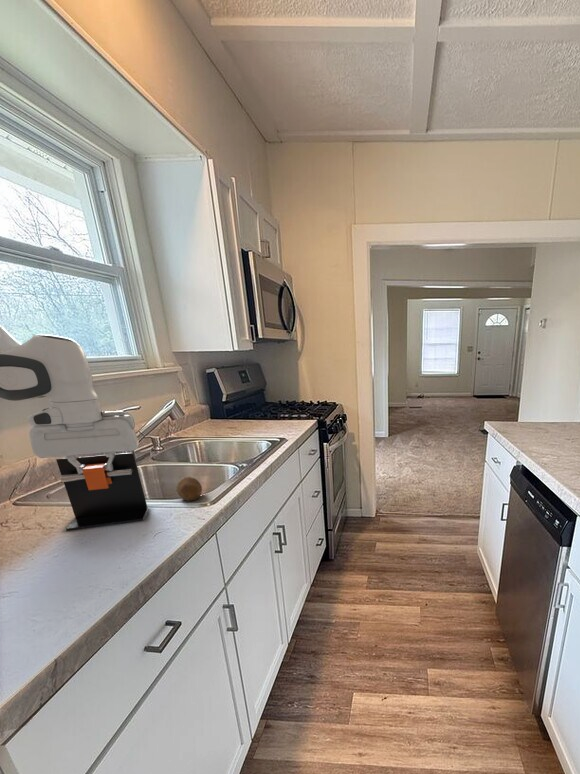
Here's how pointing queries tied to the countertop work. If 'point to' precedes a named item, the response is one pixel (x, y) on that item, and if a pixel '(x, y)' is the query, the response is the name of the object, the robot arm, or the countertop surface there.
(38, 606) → the countertop surface
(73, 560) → the countertop surface
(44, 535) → the countertop surface
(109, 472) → the oven panel
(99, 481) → the block
